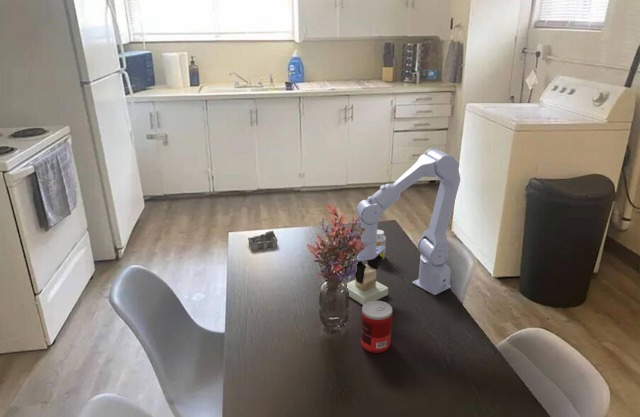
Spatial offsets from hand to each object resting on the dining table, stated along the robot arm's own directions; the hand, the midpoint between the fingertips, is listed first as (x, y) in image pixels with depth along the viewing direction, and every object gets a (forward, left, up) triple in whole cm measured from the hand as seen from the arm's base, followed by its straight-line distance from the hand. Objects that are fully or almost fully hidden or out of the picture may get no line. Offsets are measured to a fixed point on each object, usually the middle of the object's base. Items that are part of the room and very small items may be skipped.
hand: (365, 279), depth 146 cm
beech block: (0, 0, -2) cm, 2 cm away
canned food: (-20, +15, -5) cm, 25 cm away
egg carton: (+49, +7, -5) cm, 50 cm away
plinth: (0, 0, -5) cm, 5 cm away
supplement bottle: (+15, -20, -5) cm, 26 cm away
